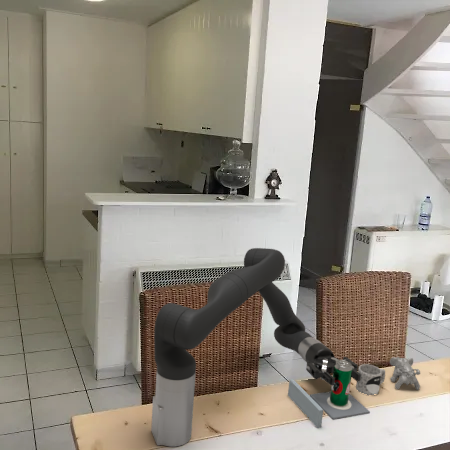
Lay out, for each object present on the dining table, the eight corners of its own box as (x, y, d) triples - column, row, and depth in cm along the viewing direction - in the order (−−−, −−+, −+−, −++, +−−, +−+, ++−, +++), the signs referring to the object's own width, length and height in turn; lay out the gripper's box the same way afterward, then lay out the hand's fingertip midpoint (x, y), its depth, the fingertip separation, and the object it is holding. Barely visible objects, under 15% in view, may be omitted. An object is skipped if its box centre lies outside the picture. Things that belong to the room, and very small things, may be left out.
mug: (367, 397, 147) (370, 377, 145) (351, 386, 152) (354, 366, 151) (391, 390, 152) (394, 370, 151) (374, 380, 157) (377, 360, 156)
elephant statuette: (400, 394, 151) (405, 372, 149) (375, 373, 161) (379, 351, 159) (424, 391, 154) (429, 368, 152) (398, 370, 165) (402, 349, 163)
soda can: (348, 408, 139) (353, 369, 136) (329, 405, 140) (334, 366, 137) (347, 398, 144) (352, 360, 141) (329, 395, 145) (334, 358, 142)
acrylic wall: (317, 427, 130) (319, 410, 129) (287, 395, 145) (289, 379, 144) (321, 427, 131) (323, 409, 130) (291, 394, 145) (293, 379, 144)
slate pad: (332, 419, 134) (333, 417, 134) (309, 396, 145) (309, 394, 145) (369, 413, 139) (369, 411, 139) (344, 390, 150) (344, 388, 150)
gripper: (296, 344, 150) (326, 371, 135) (336, 340, 155) (369, 365, 140) (293, 367, 151) (323, 396, 137) (333, 362, 157) (366, 389, 142)
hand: (346, 380), depth 139 cm, fingers open, 8 cm apart
